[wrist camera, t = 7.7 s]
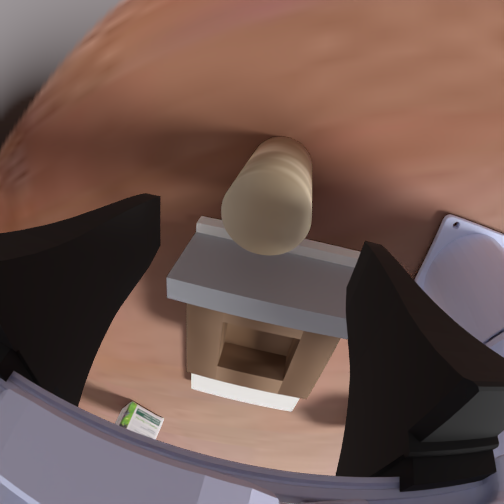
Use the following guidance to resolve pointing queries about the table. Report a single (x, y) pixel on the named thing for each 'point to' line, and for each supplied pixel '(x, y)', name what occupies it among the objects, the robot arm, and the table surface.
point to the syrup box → (139, 420)
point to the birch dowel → (271, 198)
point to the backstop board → (263, 292)
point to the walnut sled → (255, 352)
